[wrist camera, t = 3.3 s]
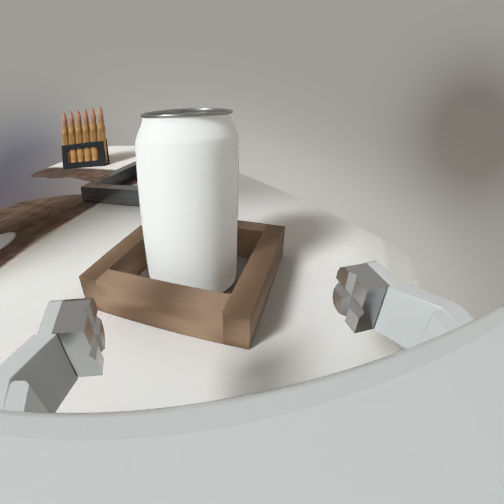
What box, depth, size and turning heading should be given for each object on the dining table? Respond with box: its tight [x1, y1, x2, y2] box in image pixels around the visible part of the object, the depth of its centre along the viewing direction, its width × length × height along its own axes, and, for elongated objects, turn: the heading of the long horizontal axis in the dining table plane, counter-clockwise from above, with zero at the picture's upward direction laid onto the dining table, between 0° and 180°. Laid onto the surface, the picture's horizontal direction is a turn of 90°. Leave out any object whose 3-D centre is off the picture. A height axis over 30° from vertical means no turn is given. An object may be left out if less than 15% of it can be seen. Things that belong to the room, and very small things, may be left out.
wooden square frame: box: [79, 220, 285, 349], centre depth 23 cm, size 12×12×2 cm
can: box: [135, 108, 239, 293], centre depth 20 cm, size 6×6×12 cm
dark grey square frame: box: [81, 162, 140, 206], centre depth 42 cm, size 14×14×2 cm
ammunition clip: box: [62, 107, 110, 169], centre depth 53 cm, size 11×2×12 cm, turn 91°
